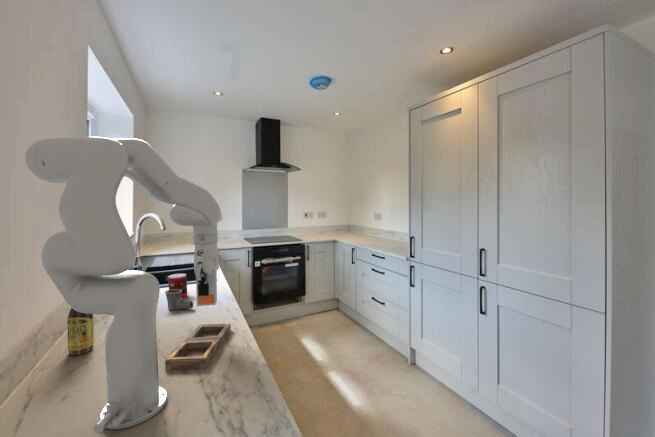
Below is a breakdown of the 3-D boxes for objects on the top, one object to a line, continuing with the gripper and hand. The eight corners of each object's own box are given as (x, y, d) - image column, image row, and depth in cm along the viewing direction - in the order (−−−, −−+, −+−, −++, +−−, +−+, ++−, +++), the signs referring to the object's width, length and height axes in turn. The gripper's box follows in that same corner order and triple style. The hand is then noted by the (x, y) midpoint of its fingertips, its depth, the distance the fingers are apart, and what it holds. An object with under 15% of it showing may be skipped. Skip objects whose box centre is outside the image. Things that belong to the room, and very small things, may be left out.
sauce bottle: (63, 357, 87) (58, 293, 86) (76, 347, 93) (72, 287, 92) (87, 355, 88) (83, 291, 87) (99, 345, 94) (96, 286, 93)
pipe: (187, 312, 122) (186, 294, 121) (161, 310, 125) (160, 292, 124) (196, 307, 128) (195, 290, 127) (172, 305, 131) (171, 288, 130)
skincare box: (196, 307, 94) (195, 270, 94) (198, 302, 98) (197, 268, 98) (216, 305, 96) (215, 269, 95) (217, 301, 100) (216, 267, 99)
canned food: (169, 296, 144) (168, 274, 143) (187, 293, 147) (186, 272, 146) (168, 300, 137) (167, 278, 136) (187, 298, 140) (186, 276, 139)
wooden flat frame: (205, 368, 81) (205, 359, 80) (165, 370, 80) (165, 360, 80) (230, 330, 104) (230, 322, 104) (200, 331, 104) (199, 323, 104)
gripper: (207, 242, 88) (208, 301, 88) (224, 236, 105) (226, 285, 106) (182, 242, 87) (184, 301, 88) (204, 236, 104) (205, 286, 105)
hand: (206, 292), depth 97 cm, fingers closed on skincare box, 5 cm apart
